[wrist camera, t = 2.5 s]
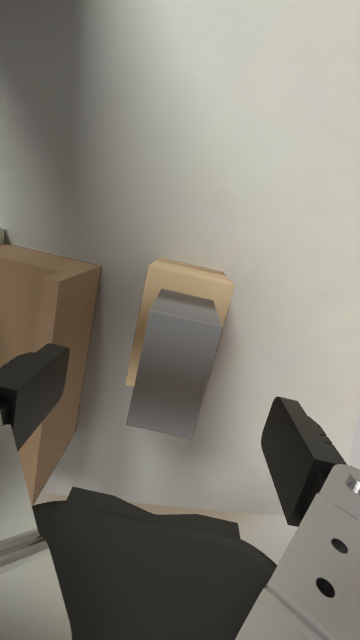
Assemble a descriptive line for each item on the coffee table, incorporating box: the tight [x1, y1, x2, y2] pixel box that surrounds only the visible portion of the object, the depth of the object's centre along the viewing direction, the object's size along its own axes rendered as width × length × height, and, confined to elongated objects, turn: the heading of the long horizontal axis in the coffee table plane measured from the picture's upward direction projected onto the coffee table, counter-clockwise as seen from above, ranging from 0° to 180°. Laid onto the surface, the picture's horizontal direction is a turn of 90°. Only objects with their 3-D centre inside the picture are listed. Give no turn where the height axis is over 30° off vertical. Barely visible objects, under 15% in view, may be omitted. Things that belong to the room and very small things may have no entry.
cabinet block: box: [125, 257, 234, 439], centre depth 18 cm, size 7×5×11 cm, turn 167°
